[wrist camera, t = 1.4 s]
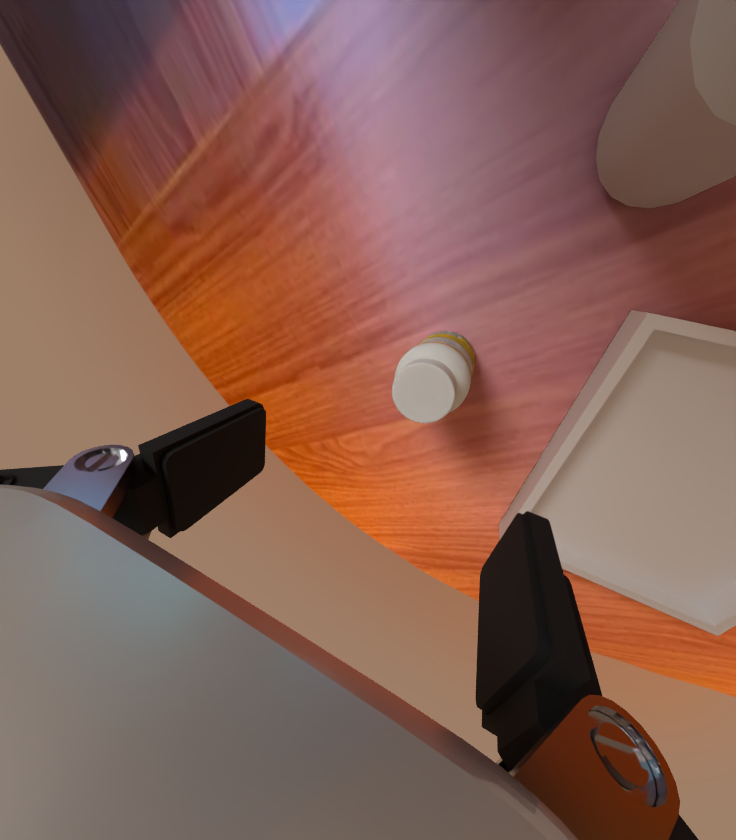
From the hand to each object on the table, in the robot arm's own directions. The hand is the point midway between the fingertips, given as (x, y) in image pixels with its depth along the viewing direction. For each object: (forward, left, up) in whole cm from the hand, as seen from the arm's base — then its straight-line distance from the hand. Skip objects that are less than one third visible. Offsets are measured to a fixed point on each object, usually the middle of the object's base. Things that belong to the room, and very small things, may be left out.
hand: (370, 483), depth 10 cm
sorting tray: (+4, +20, -19) cm, 27 cm away
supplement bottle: (0, 0, -19) cm, 19 cm away
